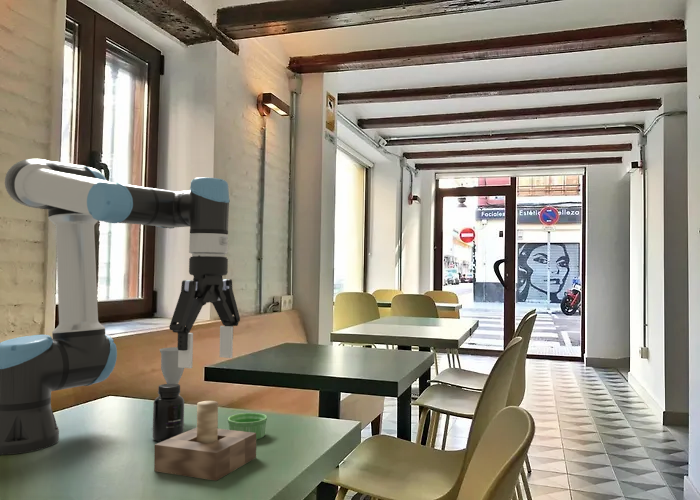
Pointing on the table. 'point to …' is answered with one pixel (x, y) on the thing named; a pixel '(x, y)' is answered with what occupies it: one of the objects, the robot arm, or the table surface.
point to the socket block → (205, 454)
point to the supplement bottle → (168, 412)
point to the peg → (207, 422)
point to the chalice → (170, 365)
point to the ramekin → (248, 423)
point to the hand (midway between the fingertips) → (206, 362)
